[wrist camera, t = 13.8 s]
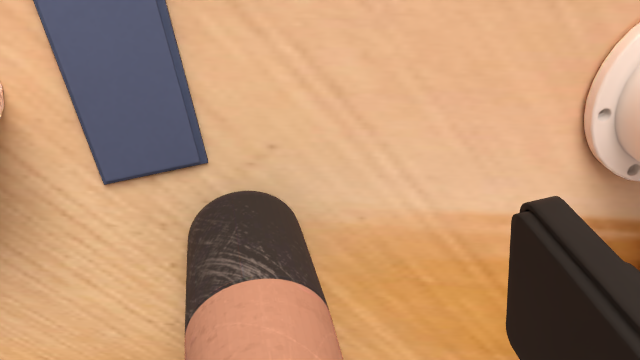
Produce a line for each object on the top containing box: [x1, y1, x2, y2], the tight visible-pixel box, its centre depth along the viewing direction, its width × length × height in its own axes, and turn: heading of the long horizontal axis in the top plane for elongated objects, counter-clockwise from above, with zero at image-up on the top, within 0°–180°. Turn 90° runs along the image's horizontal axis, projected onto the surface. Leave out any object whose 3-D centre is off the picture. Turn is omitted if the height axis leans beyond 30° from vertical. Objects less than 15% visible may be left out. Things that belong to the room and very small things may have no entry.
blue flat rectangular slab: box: [33, 0, 208, 185], centre depth 31 cm, size 6×14×1 cm, turn 7°
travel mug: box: [185, 191, 343, 360], centre depth 31 cm, size 8×8×20 cm
